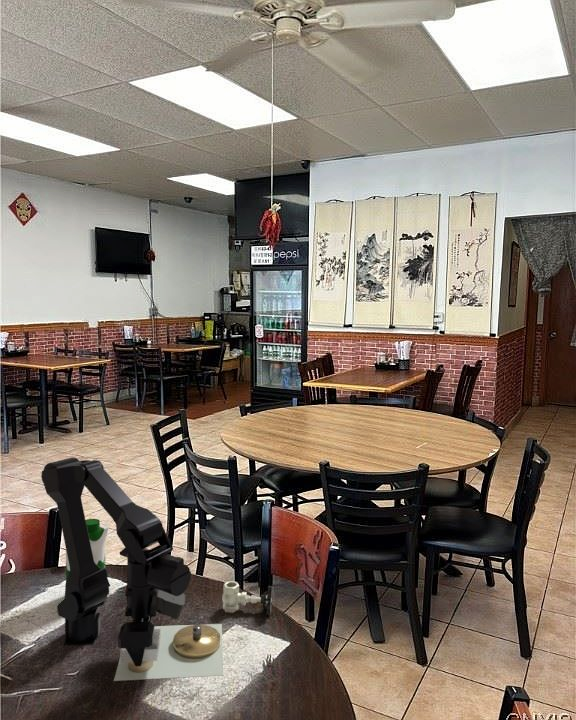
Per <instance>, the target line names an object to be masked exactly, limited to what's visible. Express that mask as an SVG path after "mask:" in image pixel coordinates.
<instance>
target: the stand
mask: <svg viewBox="0 0 576 720" xmlns="http://www.w3.org/2000/svg"><path fill="white" fill-rule="evenodd" d="M153 663H154V661H142V664H141V666H135V664H134V663H133V662H128V669H129V670H130V671H132V672H135V673H141V672H145V671H148V670H149V669H151V668H152V666H153Z"/></svg>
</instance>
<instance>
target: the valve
mask: <svg viewBox="0 0 576 720" xmlns="http://www.w3.org/2000/svg"><path fill="white" fill-rule="evenodd" d="M222 586H223V588H222V589H223V593H222V597H221V598H222V599H221V600H222V609H223V611H224V612H225V613H235V612H237V611H238V610H239V608H240V607H239V604H240V605H241V606H246V604H247V603H249V602H250V603H251V604H257V603H258V602H259V603H260V605H261V606H262V608H263V609H265V610H266V616H271V614H272V607H273V601H272V600H273V596H274V594H273V593H274V592H273V590H274V586H272V585H268V586H267V591H264V592H263V594H261V595H260V596H258V595H256V594H255V595H253V594H252V595H251V596H250V594H247V591H242V592H240V585H239V583H238V581H233V580H231V581H226V582H225V583H224V584H223V585H222Z"/></svg>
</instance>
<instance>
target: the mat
mask: <svg viewBox="0 0 576 720" xmlns="http://www.w3.org/2000/svg"><path fill="white" fill-rule="evenodd" d="M191 625H192V624H189V625H188V624H187V625H186V624H185V625H179V624H178V625H161V626H159V625H157V626H155V625H154V629H161V634H160V645H159V651H158V658H157V661H154V663H153V666H152V668H151V669H149V670H148V671H145V672H141V673H135V672H132V671H130V670H129V669H128V662H120V659H119V660H118V664H117V667H116V672H115V675H114V678H113V681H114V682H119V681H138V680H156V679H157V680H158V679H160V680H161V679H178V678H197V677H198V678H200V677H217V676H218V677H219V676H220V677H221V676H224V658H223V657H224V655H223V654H224V652H223V651H224V649H223V624H222V623H211V624H210V623H207V624H203V625H207V626H210V627H213V628H215V629H216V630H217V631H218V632H219V634H220V647H219V649H218V650H217V651H216V652H215V653H214V654H212V655H210V656H208V657H205V658H201V659H188V658H184V657H181V656H179V655H178V654H177V653H176V652H175V651H174V649H173V638H174V635H175V634H176V633H177V632H178V631H179V630H181V629H182V628H185V627H187V626H191Z"/></svg>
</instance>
